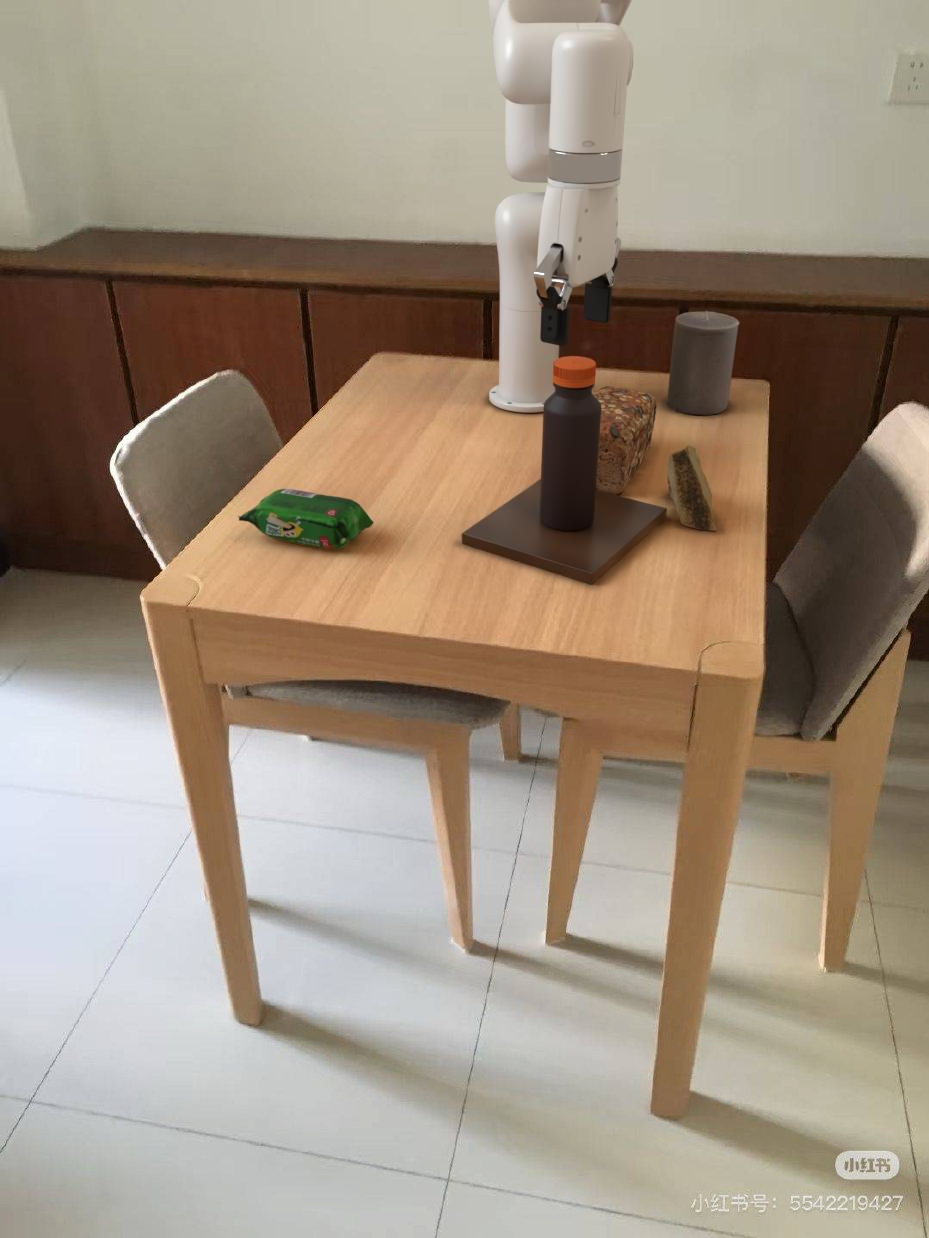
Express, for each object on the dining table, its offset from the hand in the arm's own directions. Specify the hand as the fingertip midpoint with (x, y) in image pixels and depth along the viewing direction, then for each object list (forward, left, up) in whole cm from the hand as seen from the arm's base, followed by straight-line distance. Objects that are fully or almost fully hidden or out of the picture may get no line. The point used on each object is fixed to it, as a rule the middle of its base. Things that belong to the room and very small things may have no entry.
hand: (575, 331), depth 115 cm
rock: (-13, +11, -25) cm, 30 cm away
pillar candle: (-50, -4, -25) cm, 56 cm away
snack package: (+19, -26, -25) cm, 41 cm away
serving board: (0, 0, -25) cm, 25 cm away
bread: (-20, -5, -25) cm, 32 cm away
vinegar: (0, 0, -24) cm, 24 cm away
